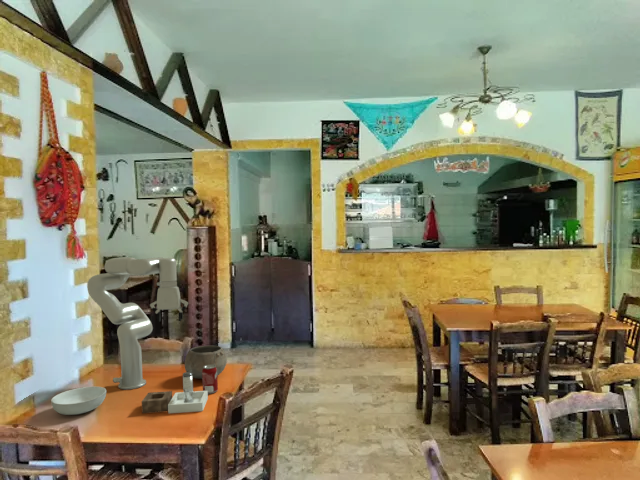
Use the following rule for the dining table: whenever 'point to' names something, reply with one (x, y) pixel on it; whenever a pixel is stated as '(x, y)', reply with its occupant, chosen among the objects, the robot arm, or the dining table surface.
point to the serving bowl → (78, 400)
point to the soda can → (210, 378)
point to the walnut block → (156, 402)
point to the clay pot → (205, 359)
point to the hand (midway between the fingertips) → (169, 320)
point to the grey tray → (179, 406)
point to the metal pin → (188, 387)
